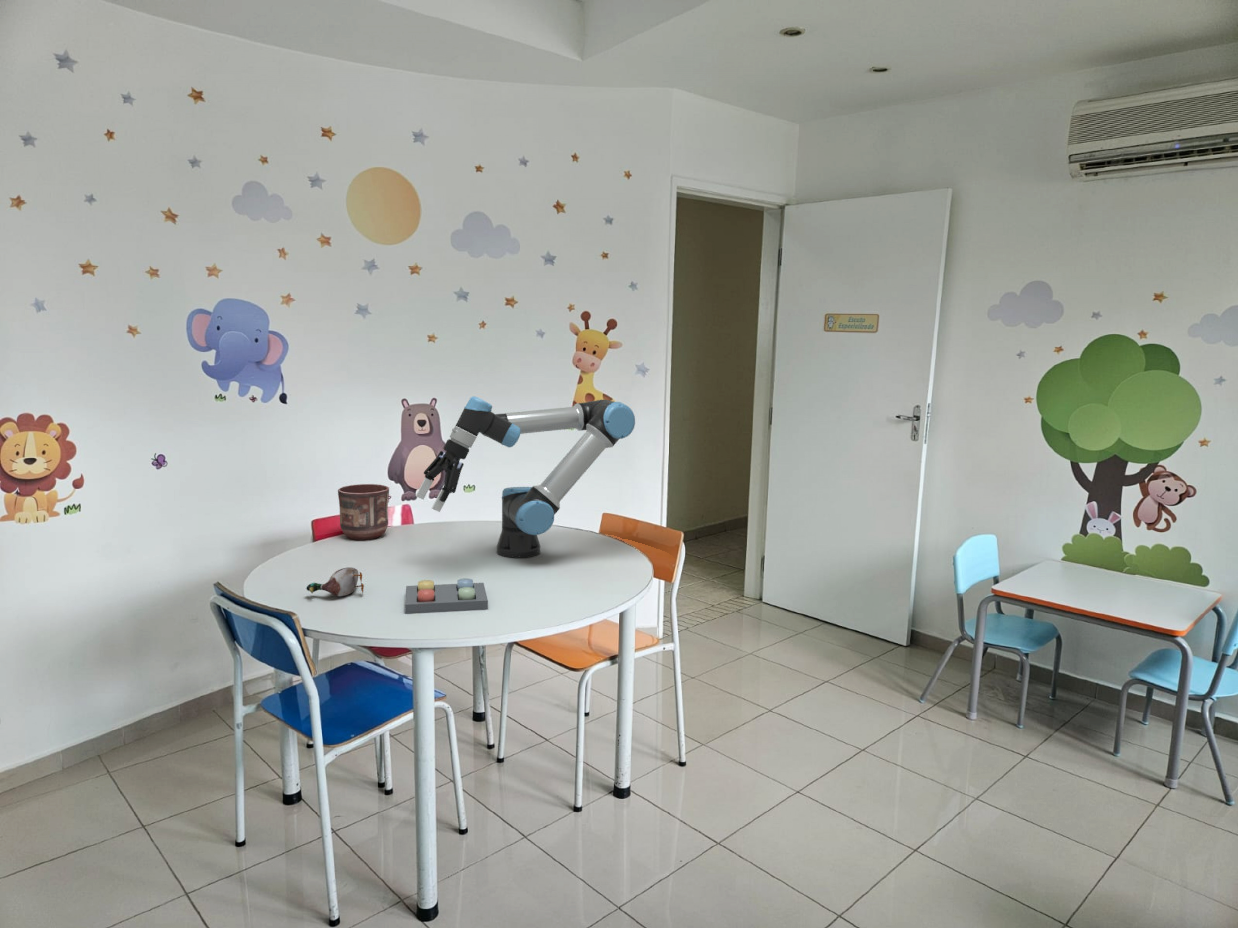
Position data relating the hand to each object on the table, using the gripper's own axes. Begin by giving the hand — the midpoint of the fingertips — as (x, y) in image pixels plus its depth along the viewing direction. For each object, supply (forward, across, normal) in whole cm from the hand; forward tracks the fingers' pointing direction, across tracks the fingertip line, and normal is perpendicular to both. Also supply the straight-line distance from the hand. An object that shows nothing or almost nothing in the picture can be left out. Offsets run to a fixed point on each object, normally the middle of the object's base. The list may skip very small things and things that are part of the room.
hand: (427, 503), depth 243 cm
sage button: (+16, +36, +6) cm, 40 cm away
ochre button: (+21, +25, 0) cm, 32 cm away
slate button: (+16, +29, +9) cm, 34 cm away
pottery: (+26, -50, +9) cm, 57 cm away
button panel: (+20, +31, +4) cm, 37 cm away
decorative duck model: (+33, +9, -16) cm, 38 cm away
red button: (+21, +32, -3) cm, 39 cm away
